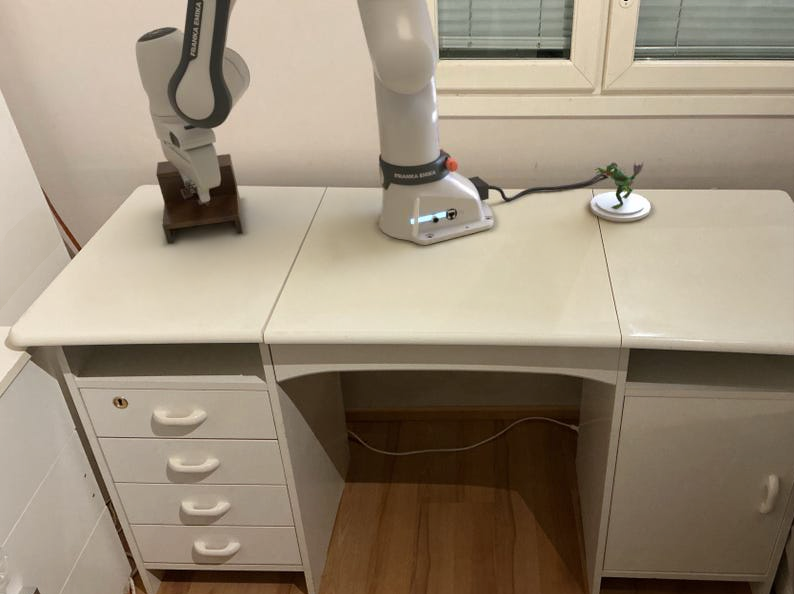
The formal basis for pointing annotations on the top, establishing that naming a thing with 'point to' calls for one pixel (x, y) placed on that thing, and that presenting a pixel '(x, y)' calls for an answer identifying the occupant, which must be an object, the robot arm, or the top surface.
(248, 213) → the top surface
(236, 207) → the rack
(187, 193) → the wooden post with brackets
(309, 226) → the top surface
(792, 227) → the top surface
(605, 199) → the frog figurine
